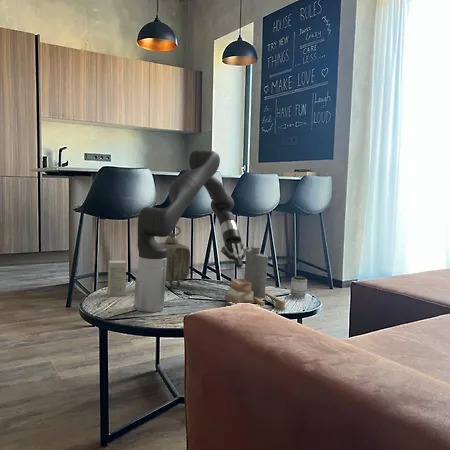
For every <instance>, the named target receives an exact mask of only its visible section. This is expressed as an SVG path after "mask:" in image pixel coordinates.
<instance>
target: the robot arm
mask: <svg viewBox="0 0 450 450" xmlns="http://www.w3.org/2000/svg"><path fill="white" fill-rule="evenodd" d="M220 163H221V157H220V155H219V154H218V152H217V151H214V150H204V149H195V150H193V151H192V152H191V153H190V155H189V160H188V165H189V168H190V170H188V171H186V172H183V173H181V174H180V175H178V176H177V178H176V179H175V180H173V182H172V183H171V185H170V186H169V189H168V198H169V201H170V204H169V205H168V206H166V207H165V208H163V207H161V208H160V207H150V206H146V207H143V208H142V209H141V210H140V212H139V214H138V216H137V243H136V244H137V245H136V246H137V251H138V257H137V258H138V259H137V260H138V261H137V272H136V273H137V275H136V278H135V280H134V281H135V283H134V284H135V285H134V300H133V307H134V308H135V310H136V311H137V312H146V313H149V312H150V313H157V312H161V311H163V310H164V308H165V307H164V306H165V292H166V290H165V289H166V281H165V279H166V264H167V249H166V248H165V247H163V246H161V245H160V244H158V243H159V242H157V240H156V237H158V238H166V237H169V236H168V235H170V234H171V233H173V231H174V229H175V228H176V227H175V226H177V224H178V223H179V220H180V219H181V217H182V215H183V214H184V212H185V210H186V209H187V207H188V206H189V205H190V204H191V203H192V201H193V200H194V199H195V197H196V196H197V195H198V193H199V191H200V190H201V189H202V188H203V186H204V188H205V190H206V191H207V193H208V195H209V197H210V199H211V201H210V208H211V210H212V212H213V213H214V215H215V216H216V218H217V220H218V222H219V226H220V232H221V234H220V235H221V236H222V241H223V244H224V245H223V246H222V247H221V249H220V252H221V253H222V254H223V255H224V256H225V257H226V258H228V260H231V261H233V262H234V265H235V267H236V269H241V268H243V265H244V262H243V260H244V258H246V250H250V247H249V246H245V245H244V244H243V243H244V242H242V237H241V234H240V230H239V227H238V224H237V222H236V219H235V216H234V213H232V210H233V209H234V207H235V200H234V199H233V197H232V196H231V194H229V193H228V192H226V190H225V187H224V186H223V183H222V182H221V181H220V179H218V178H217V177H216V176H215V174H216V173H217V172H218V169H219V167H220ZM242 252H243V253H242Z"/></svg>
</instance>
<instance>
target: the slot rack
mask: <svg viewBox="0 0 450 450" xmlns="http://www.w3.org/2000/svg"><path fill="white" fill-rule="evenodd" d="M229 287H231V283H230V284H229ZM265 295H266V296H268V297H270V298H272V299H273V300H274V301H275V302H276V307H275V308H277V309H278V310H280V311H282V310H283V311H285V309H286V308H285V307H286V301H285V300H283V299H281V298H280V297H277V296H276V295H274V294H272V293H270V292H269V291H266V290H265ZM253 300H255V302H256V303H257V304H258V305H260V306H264V305H266V301H262V300H261V299H259V298H257V297H255V296H254V295H253Z"/></svg>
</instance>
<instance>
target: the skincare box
mask: <svg viewBox="0 0 450 450" xmlns="http://www.w3.org/2000/svg"><path fill="white" fill-rule="evenodd" d="M107 264H108V266H107V268H108V270H107V296H109V297H112V296H115V297H117V296H120V297H121V296H126V292H127V291H126V286H127V284H126V283H127V281H126V280H127V261H126V260H108V263H107Z"/></svg>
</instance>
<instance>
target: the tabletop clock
mask: <svg viewBox="0 0 450 450" xmlns="http://www.w3.org/2000/svg"><path fill="white" fill-rule="evenodd" d="M175 228H176V229H177V230H178V231H179V232H178V233H176V234H175V233H174V232H171V234H170V235H168V236H167V238H166V239H165V240H164V241H163V242H157V243H158V244H160V245H161V246H163V247H165V248H166V249H167V264H166V279H165V282H169V283H170V286H169V290H174V285H173V282H175V283H176V286H180V285H181V282H180V281H183V280H185V279H187V278H188V276H189V273H190V267H191V251H190V247H189V246H187V245H184V244H182V243H179V240H178V239H177V238H176V237H177V236H179V235H180V233H181V228H180V227H179V226H177V225H176V226H175Z"/></svg>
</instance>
